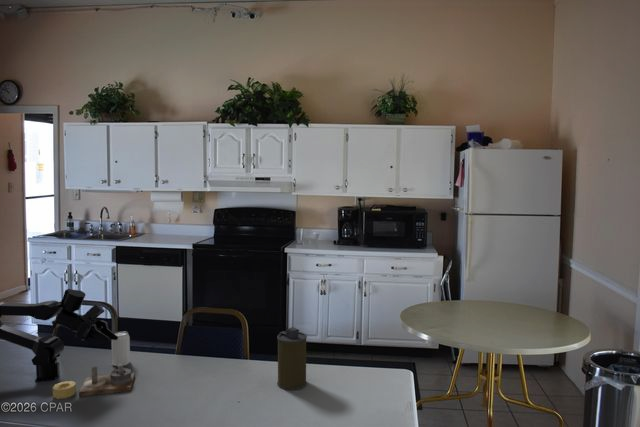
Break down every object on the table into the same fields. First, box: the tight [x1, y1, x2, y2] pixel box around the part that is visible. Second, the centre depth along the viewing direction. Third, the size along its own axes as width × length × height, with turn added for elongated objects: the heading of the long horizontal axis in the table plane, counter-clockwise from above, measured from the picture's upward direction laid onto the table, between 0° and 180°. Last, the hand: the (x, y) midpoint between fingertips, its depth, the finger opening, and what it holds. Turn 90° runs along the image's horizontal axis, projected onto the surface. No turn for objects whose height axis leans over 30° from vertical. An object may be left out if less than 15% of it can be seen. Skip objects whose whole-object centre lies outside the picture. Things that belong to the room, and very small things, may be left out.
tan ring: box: [52, 380, 77, 400], centre depth 158 cm, size 6×6×3 cm
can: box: [111, 330, 131, 367], centre depth 183 cm, size 6×6×12 cm
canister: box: [276, 326, 308, 391], centre depth 166 cm, size 11×10×20 cm
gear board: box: [78, 364, 136, 397], centre depth 164 cm, size 16×12×7 cm
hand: (113, 339), depth 169 cm, fingers open, 9 cm apart
